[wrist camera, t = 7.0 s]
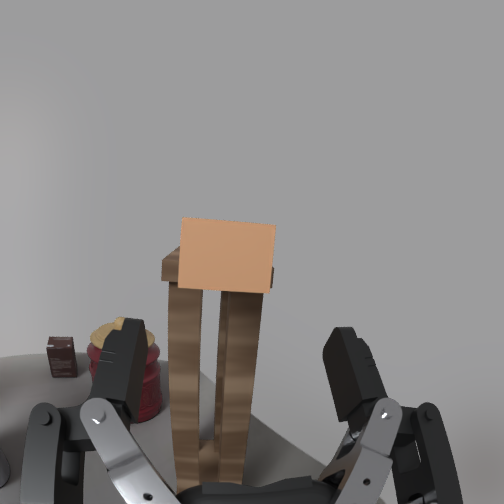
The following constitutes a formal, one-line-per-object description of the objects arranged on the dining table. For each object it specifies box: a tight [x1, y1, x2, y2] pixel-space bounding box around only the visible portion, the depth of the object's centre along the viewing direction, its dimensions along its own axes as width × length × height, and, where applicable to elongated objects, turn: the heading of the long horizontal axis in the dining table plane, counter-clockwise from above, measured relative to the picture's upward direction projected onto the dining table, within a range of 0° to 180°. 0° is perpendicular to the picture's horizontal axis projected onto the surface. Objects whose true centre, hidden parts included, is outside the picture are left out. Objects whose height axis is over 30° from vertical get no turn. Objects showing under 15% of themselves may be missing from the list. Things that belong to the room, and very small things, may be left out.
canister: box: [87, 317, 162, 423], centre depth 43 cm, size 13×13×18 cm
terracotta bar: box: [178, 217, 276, 293], centre depth 22 cm, size 20×4×3 cm, turn 8°
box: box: [46, 337, 77, 377], centre depth 49 cm, size 6×6×7 cm
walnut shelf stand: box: [161, 246, 274, 494], centre depth 29 cm, size 14×8×31 cm, turn 8°
